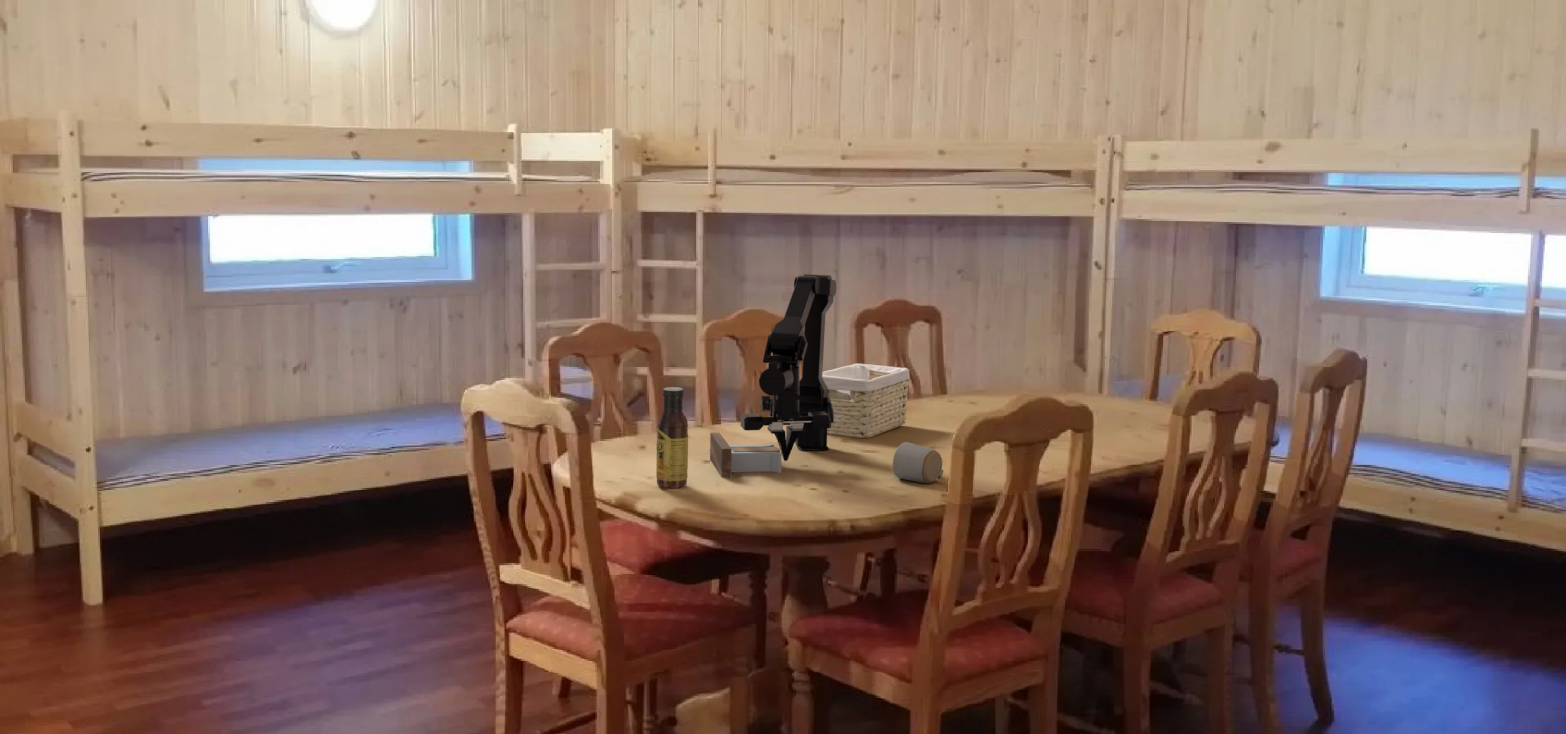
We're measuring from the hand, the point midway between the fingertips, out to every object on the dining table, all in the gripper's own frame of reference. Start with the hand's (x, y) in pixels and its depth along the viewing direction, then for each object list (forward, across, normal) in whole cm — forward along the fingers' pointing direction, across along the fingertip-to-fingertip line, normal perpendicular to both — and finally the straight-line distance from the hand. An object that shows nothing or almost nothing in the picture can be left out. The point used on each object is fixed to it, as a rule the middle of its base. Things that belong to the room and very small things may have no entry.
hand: (785, 460), depth 309 cm
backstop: (+1, +14, 0) cm, 14 cm away
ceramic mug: (+2, -26, +15) cm, 30 cm away
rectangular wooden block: (+1, +7, 0) cm, 7 cm away
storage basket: (+2, -27, -42) cm, 50 cm away
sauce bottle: (+1, +26, +16) cm, 31 cm away
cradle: (+1, +7, 0) cm, 8 cm away
